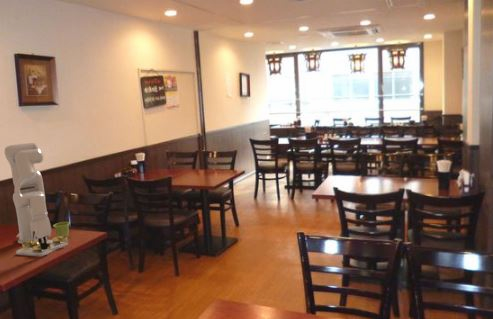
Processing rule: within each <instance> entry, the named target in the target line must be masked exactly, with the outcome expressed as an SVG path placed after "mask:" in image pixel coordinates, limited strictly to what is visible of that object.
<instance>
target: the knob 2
mask: <svg viewBox="0 0 493 319" xmlns="http://www.w3.org/2000/svg"><path fill="white" fill-rule="evenodd" d="M51 240H53V242H54V243H56V242H69V239H68V237H67V236H58V237H57V236H55V237H52V239H51Z"/></svg>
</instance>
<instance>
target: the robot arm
mask: <svg viewBox="0 0 493 319" xmlns="http://www.w3.org/2000/svg"><path fill="white" fill-rule="evenodd" d="M4 155H5V158H6V160H7V162H8V164H9V165H10V170H11V177H12V182H13V186H14V192H13V195H12V201H13V203H14V206H15V212H16V218H17V225H18V231H19V232H18V234H17V235H16V238H18V239H17V243H18V244H21V245H22V243H23V242H27V241H29V240H34V241H35V242H37V241H38V242H39V243H40V247H41V250H46V249H47V240H49V237H51V236H52V226H51V222H50V218H49V216H48V215H49V213H48V211H47V205H46V203H47V202H46V194H45V187H44V186H45V185H44V180H43V176H42V174H41V172H40V171H39V170H36V168H35V164H41V163H43V162H44V154H43V152H42V150H41V149H40V147H39V145H37V144H36V143H35V142H29V143H18V144H11V145H8V146H6V147H5V148H4ZM31 187H33V188H31ZM24 188H28V189H24Z"/></svg>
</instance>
